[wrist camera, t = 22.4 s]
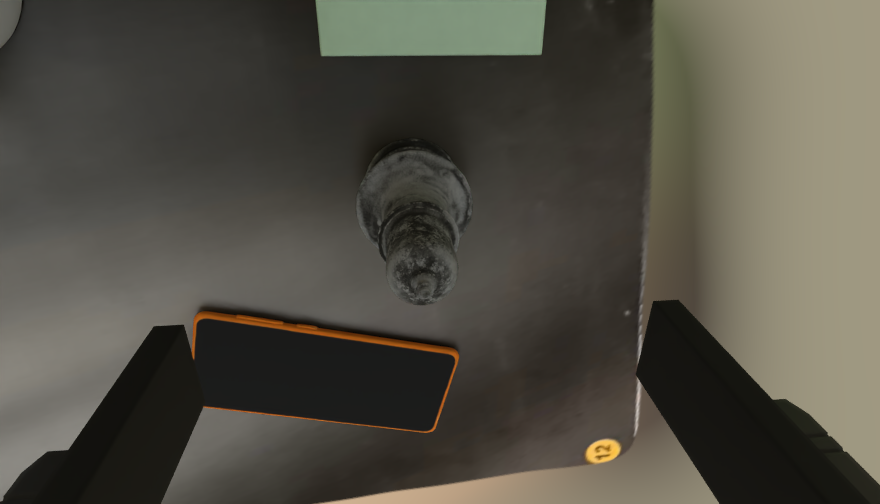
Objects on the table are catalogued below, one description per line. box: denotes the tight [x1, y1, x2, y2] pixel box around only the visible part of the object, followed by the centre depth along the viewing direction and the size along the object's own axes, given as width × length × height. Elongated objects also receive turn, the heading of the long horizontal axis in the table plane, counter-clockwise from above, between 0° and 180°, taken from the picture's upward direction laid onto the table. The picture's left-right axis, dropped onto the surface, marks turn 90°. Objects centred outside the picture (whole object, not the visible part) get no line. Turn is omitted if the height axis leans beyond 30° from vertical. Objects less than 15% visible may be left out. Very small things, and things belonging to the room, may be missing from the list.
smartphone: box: [192, 311, 459, 433], centre depth 33 cm, size 8×17×1 cm, turn 76°
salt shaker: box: [356, 138, 473, 305], centre depth 23 cm, size 6×6×12 cm
